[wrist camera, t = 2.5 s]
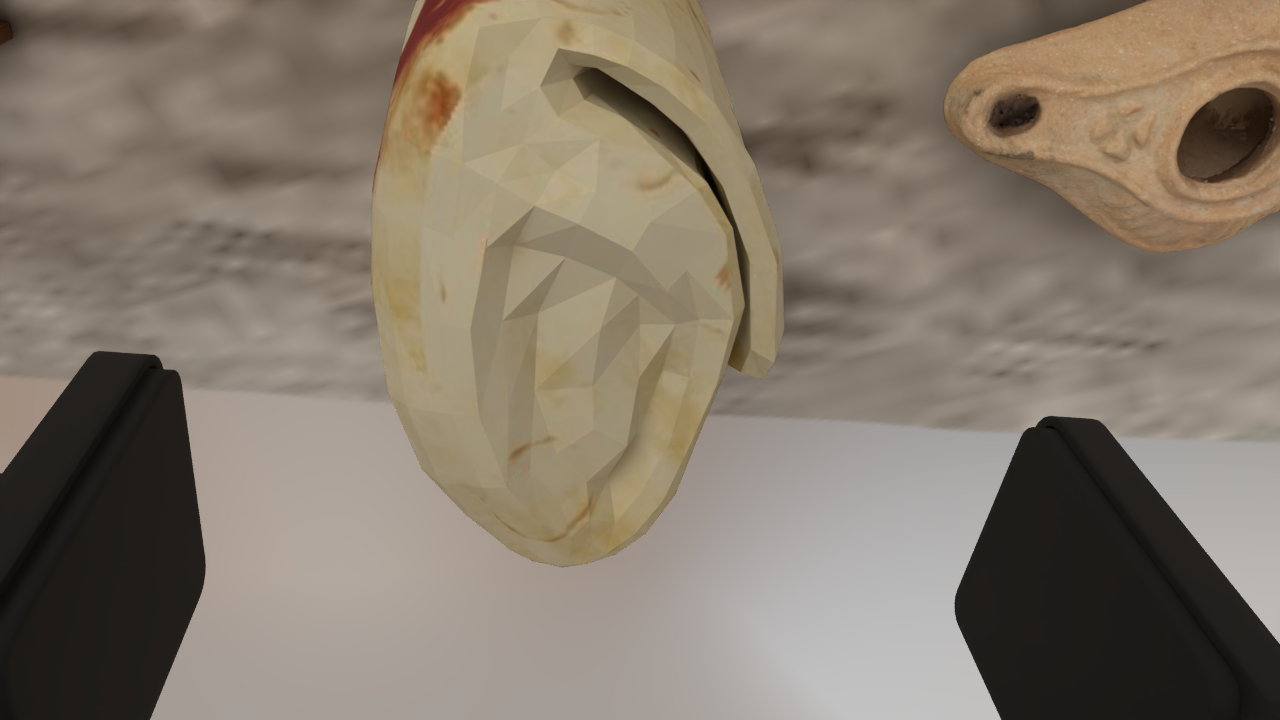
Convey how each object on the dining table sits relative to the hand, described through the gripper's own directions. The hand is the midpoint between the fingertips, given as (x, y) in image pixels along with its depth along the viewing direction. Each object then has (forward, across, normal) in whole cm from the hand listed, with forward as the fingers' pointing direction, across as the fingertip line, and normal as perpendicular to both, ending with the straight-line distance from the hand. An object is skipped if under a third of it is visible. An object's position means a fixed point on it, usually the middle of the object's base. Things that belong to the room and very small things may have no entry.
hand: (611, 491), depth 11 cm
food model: (+22, 0, 0) cm, 22 cm away
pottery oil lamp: (+22, -18, 0) cm, 29 cm away
